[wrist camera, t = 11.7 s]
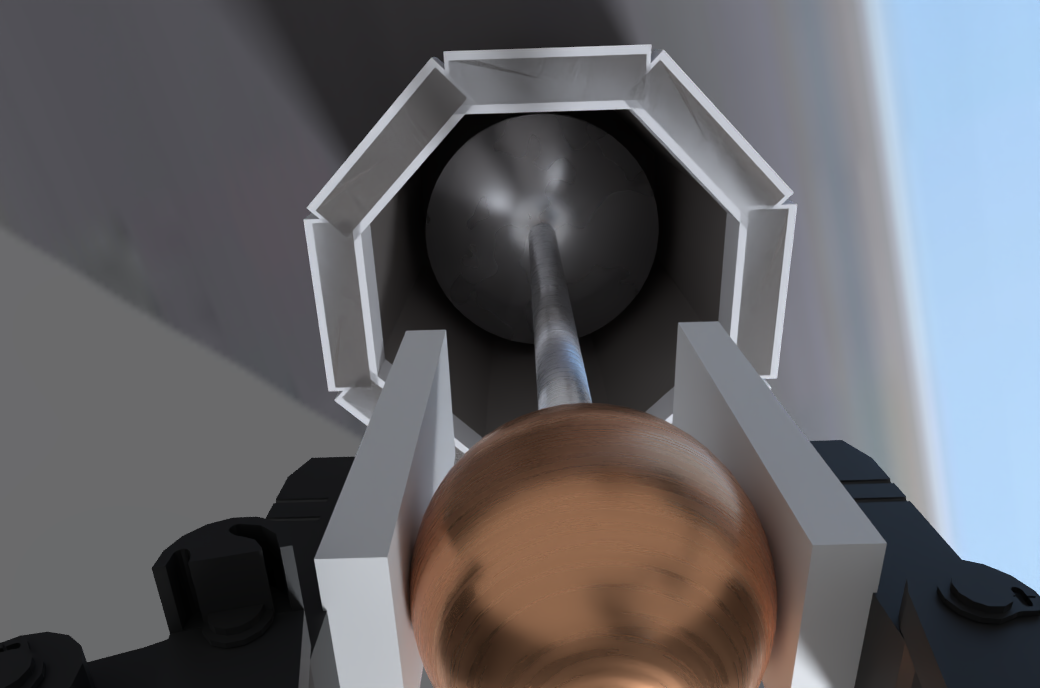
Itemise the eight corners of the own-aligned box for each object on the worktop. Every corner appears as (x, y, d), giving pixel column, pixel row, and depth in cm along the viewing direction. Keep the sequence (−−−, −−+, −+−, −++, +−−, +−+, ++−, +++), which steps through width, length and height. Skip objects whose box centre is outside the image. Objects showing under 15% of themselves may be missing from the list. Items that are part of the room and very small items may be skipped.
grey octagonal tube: (384, 56, 29) (279, 56, 16) (684, 46, 29) (816, 38, 16) (417, 405, 35) (360, 606, 22) (665, 398, 35) (751, 596, 22)
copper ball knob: (418, 116, 25) (46, 344, 5) (659, 108, 25) (1200, 308, 5) (437, 339, 28) (247, 1002, 8) (650, 333, 28) (963, 988, 8)
